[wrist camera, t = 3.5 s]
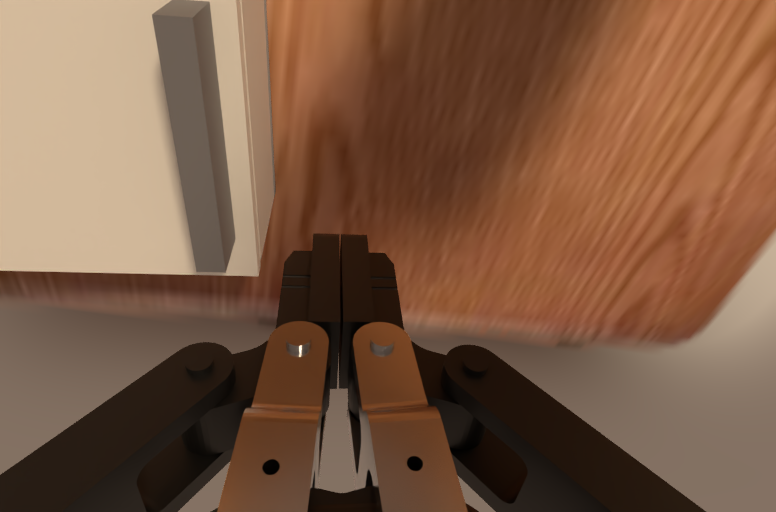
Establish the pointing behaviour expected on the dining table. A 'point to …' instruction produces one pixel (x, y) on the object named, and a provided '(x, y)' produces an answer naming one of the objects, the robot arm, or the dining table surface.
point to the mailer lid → (125, 138)
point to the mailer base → (259, 109)
